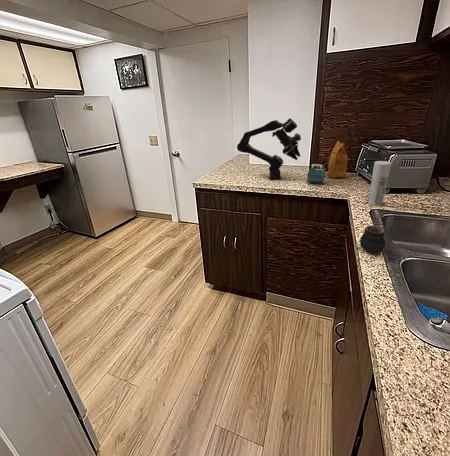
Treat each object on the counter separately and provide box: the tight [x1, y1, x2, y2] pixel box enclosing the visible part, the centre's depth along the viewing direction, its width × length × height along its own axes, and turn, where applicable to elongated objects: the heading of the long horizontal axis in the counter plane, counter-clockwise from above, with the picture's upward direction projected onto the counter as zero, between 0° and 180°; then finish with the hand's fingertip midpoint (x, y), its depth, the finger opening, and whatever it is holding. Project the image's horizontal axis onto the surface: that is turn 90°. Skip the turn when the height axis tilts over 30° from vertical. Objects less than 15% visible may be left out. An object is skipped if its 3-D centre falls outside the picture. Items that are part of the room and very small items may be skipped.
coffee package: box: [327, 140, 349, 179], centre depth 158 cm, size 10×12×22 cm
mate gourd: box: [359, 224, 386, 254], centre depth 82 cm, size 7×8×10 cm
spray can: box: [367, 160, 392, 207], centre depth 115 cm, size 6×6×20 cm
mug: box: [306, 163, 327, 185], centre depth 150 cm, size 9×8×12 cm
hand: (298, 158), depth 153 cm, fingers open, 9 cm apart
